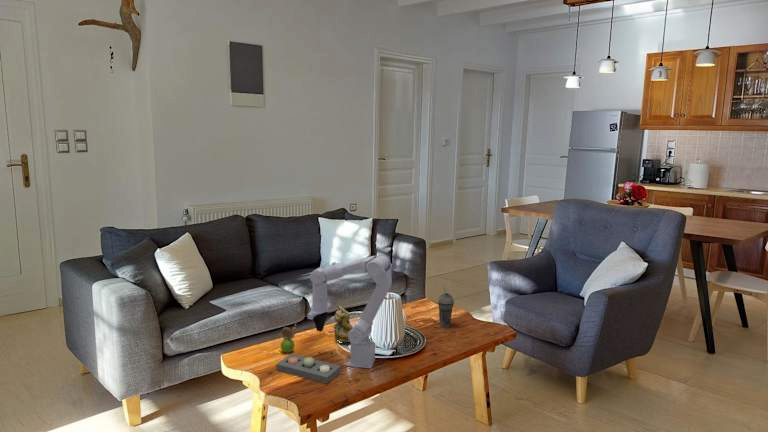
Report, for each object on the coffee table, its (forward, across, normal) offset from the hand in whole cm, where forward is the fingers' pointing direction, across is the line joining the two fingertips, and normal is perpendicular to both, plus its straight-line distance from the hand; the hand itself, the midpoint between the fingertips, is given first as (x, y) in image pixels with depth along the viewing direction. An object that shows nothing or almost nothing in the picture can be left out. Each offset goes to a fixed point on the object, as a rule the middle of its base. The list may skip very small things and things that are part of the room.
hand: (319, 330), depth 213 cm
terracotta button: (+10, +14, -3) cm, 17 cm away
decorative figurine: (+11, -17, +2) cm, 20 cm away
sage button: (+9, +13, +4) cm, 16 cm away
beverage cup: (+11, -53, +34) cm, 64 cm away
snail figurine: (+11, +3, -13) cm, 17 cm away
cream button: (+10, +14, +11) cm, 20 cm away
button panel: (+10, +14, +4) cm, 17 cm away
